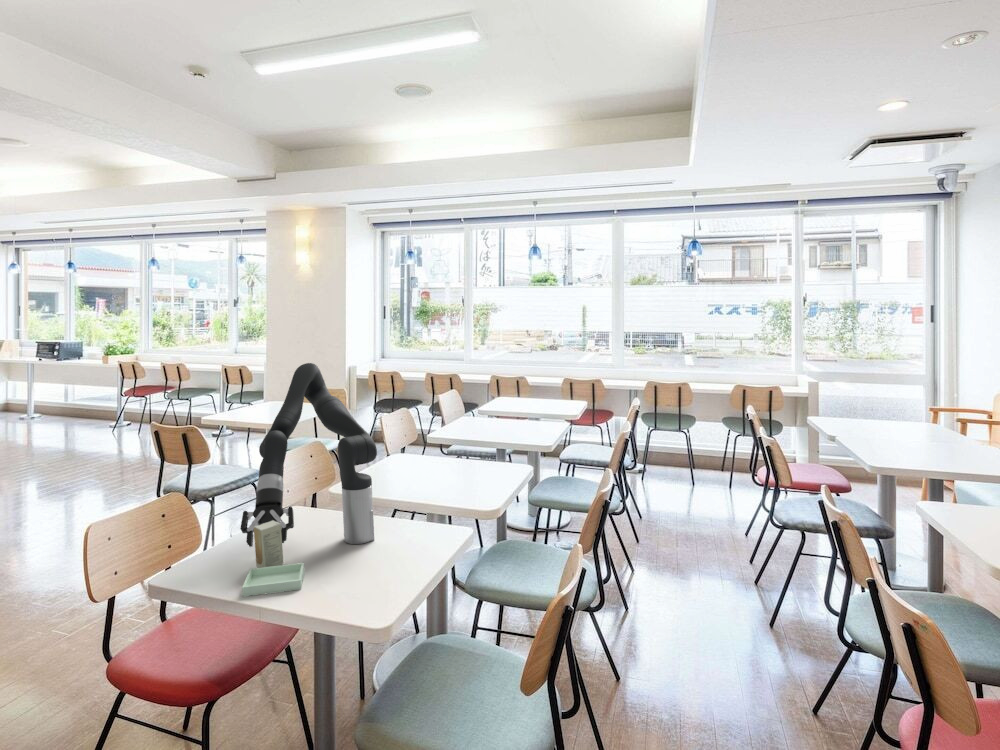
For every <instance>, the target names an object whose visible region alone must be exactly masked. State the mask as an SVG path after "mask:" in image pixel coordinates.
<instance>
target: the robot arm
mask: <svg viewBox="0 0 1000 750" xmlns="http://www.w3.org/2000/svg"><path fill="white" fill-rule="evenodd" d="M292 375H293V376H292V379H291V382H290V385H289V387H288V391H287V393H286V397H285V399H284V401H283V404H282V406H281V408H280V409H279V411H278V413H277V415H276V416H275V419H274V420H273V423H272V424H271V427H270V429H269V430H268V432H267V433H266V435H265V436H264V438H263V440H262V441H261V443H260V445H259V447H258V449H259V455H260V456H261V458H262V460H261V462H260V465H259V468H258V469H259V470H258V480H257V485H256V490H255V491H256V492H255V493H256V496H255V507H254V510H253V511H248V510H243V512H242V517H241V521H240V527H239V528H240V530H241V531H240V532H241V533H242V534H246V543H247V545H248V546H249V547H250V548H252V547H253V543H254V527H255V526H258V525H261V524H263V523H266V522H270V521H273V520H274V521H276V522H278V523H280V524H281V535H282V544H285V542H286V541H287V539H288V537H287V535H288V531H289V530H290V529H293V528H294V527H295V522H294V519H295V518H294V509H293V506H288V507H287V508H283V503H284V502H283V501H284V464H285V461H286V455H287V450H288V440H289V438H290V437H291V435H292V434H293V433H294V431H295V429H296V427H297V425H298V423H299V421H300V419H301V416H302V412H303V406H304V405H303V404H304V399H306V400H307V401H308V402H309V403H310V404H311V405H312V407H313V409H314V412H315V414H316V416H317V417H318V419H319V420H320V422H321V424H322V425H323V426H324V427H325V428H326V429H327V430H328V431H331V432H332V433H335V434H337V435H339V436H341V437H342V438H340V440H339V441H338V444H337V456H338V457H337V458H338V465H339V466H338V467H339V477H340V478H339V479H340V481H341V496H342V497H341V499H342V517H343V518H342V519H343V523H342V524H343V538H344V539H343V540H344V542H345V543H347V544H350V545H361V544H365V543H368V542H372V541H375V526H374V524H375V523H374V521H375V520H374V504H373V486H372V485H373V483H372V482H373V481H372V480H373V479H372V476H371V475H369V474H368V473H363V472H357V471H356V466H360V465H365V464H369V463H372V462H373V461H374V460H376V458H377V456H378V449H377V446H376V442H375V440H374V439H373V437H372V436H371V435H370V434H369V433H368V432H367V430H365V429H364V428H363V427H362V426H361V425H360V424H359V423H358V422H357V420H356V419H355V418H354V417H353V416H352V414H351V413H350V412H349V410H348V408H347V407H346V405H345V404H344V402H342V401H341V399H339V398H338V397H337V396H334V395H332V394H331V393H330V391H329V389H328V387H327V385H326V383H325V379H324V377H323V375H322V372H321V370H320V368H319V367H318V366H317V364H315V363H313V362H307V363H303V364H300V365H299V366H298V367H297V368H296V369H295V371H294V373H293V374H292ZM284 514H285V515H286V516H287V518H288V519H287V520H288V522H287V523H285V522H284V521H283V519H282V517H283V515H284ZM252 517H254V520H252V522H251V524H250V525H248V523H249V521H250V520H251V518H252Z"/></svg>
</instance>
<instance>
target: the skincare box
mask: <svg viewBox="0 0 1000 750" xmlns="http://www.w3.org/2000/svg"><path fill="white" fill-rule="evenodd" d="M281 529H282V528H281V524H280V523H278V522H276V521H274V520H273V521H270V522H266V523H263V524H261V525H258V526H255V527H254V532H253V540H254V551H255V552H254V553H255V563H256V568H262V567H271V566H279V565H284V551H283V550H284V549H283V543H282V535H281Z"/></svg>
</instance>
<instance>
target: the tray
mask: <svg viewBox="0 0 1000 750" xmlns="http://www.w3.org/2000/svg"><path fill="white" fill-rule="evenodd" d="M304 576H305V562H298V563H290V564H288V563H287V564H281V565H278V566H271V567H262V568H258V567H256V568H250V569H249V571H248V572H247V576H246V578H245V581H244V583H243V585H242V597H243V596H246V597H250V596H249V595H253V596H258V595H257V594H261V595H266V594H265V593H269V594H276V593H275V592H277V593H283V592H284V591H285V592H290V591H298V590H302V586H303V582H304Z"/></svg>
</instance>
